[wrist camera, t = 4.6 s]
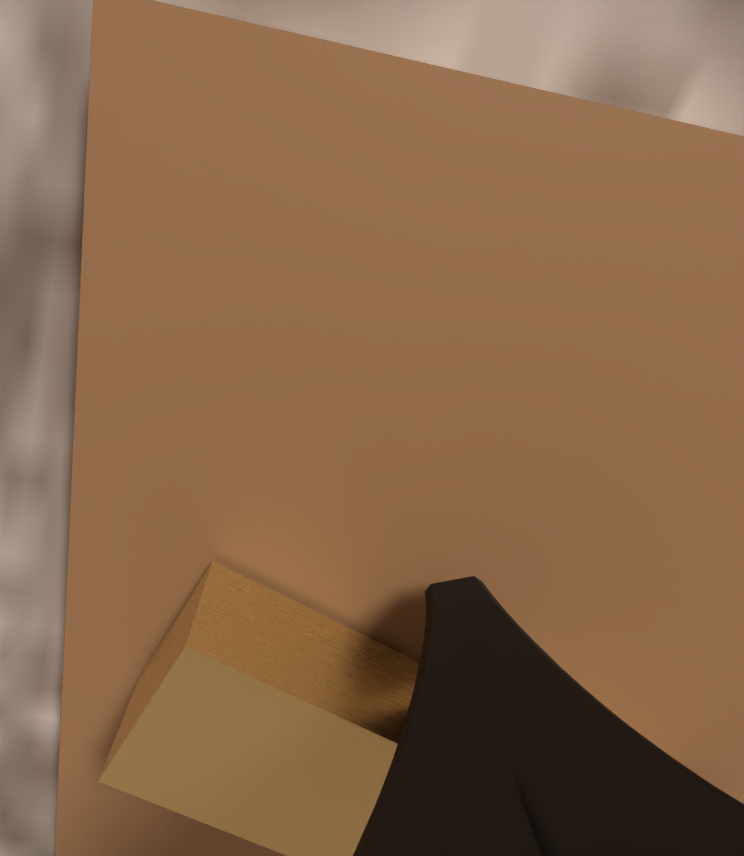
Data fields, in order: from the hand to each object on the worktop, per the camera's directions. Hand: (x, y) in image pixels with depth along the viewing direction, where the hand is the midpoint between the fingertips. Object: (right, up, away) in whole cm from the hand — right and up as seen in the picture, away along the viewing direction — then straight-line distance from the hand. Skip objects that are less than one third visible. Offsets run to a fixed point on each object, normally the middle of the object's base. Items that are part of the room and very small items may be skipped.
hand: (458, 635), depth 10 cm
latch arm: (+1, -3, +2) cm, 3 cm away
